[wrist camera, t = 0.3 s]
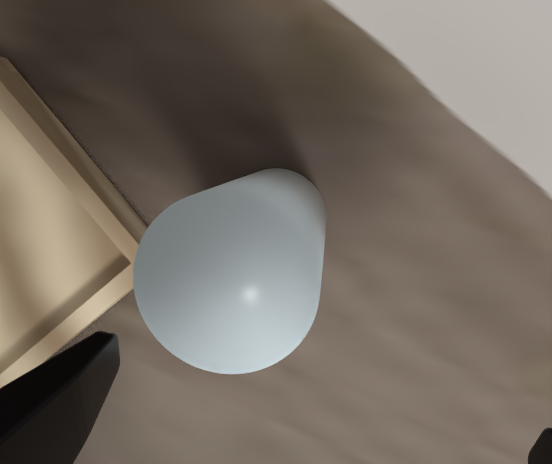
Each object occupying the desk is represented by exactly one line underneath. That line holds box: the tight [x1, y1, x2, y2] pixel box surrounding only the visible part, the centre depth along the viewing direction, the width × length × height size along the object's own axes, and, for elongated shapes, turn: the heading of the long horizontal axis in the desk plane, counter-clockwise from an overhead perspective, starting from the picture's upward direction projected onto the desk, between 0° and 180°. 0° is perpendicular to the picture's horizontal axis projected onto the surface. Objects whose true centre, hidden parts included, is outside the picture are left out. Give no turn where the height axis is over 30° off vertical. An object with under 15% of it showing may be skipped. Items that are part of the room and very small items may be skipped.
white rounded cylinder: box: [133, 168, 327, 374], centre depth 19 cm, size 5×5×12 cm
